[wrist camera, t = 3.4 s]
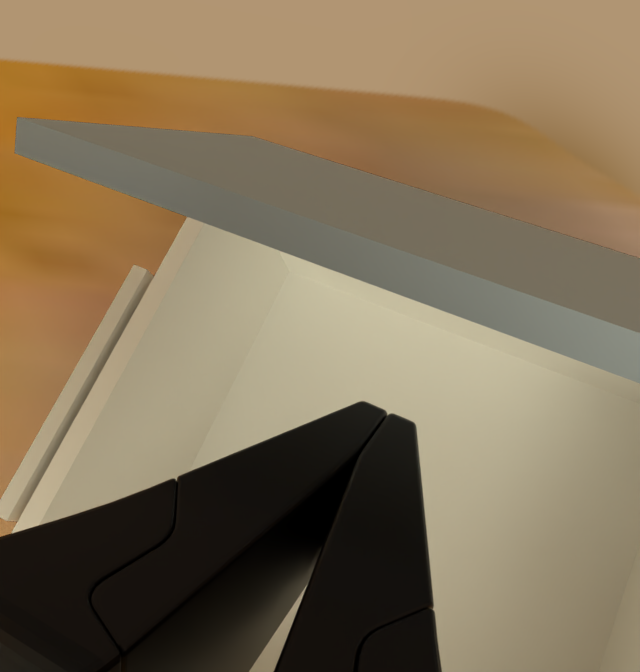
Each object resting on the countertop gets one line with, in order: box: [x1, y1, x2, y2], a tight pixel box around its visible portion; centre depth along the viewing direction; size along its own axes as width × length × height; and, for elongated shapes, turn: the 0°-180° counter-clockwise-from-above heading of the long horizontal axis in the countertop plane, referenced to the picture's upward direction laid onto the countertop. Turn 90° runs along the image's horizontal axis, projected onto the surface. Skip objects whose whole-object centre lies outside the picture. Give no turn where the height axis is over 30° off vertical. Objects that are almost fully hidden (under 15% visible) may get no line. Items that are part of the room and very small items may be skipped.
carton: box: [0, 217, 640, 672], centre depth 15 cm, size 15×15×7 cm
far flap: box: [15, 117, 640, 383], centre depth 10 cm, size 7×12×1 cm
